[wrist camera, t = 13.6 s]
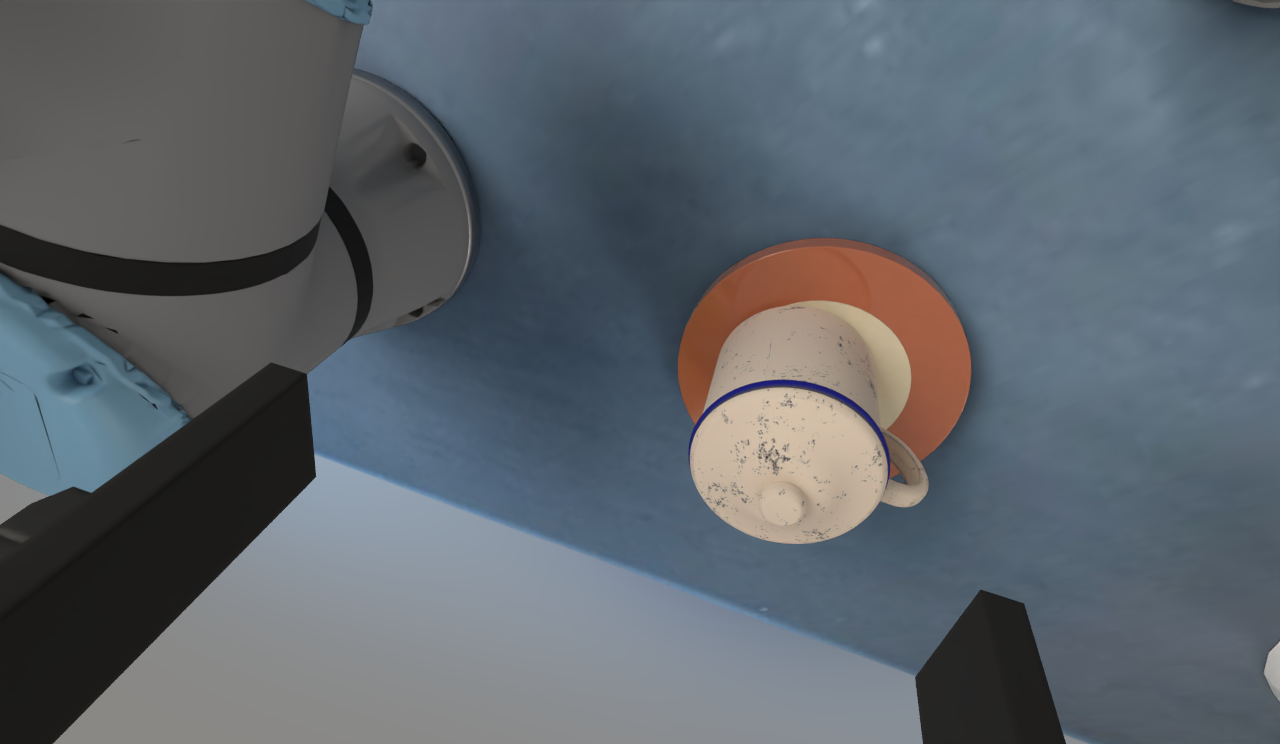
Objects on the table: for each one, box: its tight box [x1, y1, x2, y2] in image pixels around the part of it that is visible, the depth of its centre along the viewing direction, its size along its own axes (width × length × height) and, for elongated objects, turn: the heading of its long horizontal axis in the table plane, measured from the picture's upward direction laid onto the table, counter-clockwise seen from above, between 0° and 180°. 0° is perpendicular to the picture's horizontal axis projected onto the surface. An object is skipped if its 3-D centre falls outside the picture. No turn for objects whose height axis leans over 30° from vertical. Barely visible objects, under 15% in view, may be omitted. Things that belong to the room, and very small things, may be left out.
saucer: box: [678, 238, 972, 478], centre depth 39 cm, size 16×16×2 cm
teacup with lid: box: [688, 306, 929, 544], centre depth 34 cm, size 12×9×12 cm
